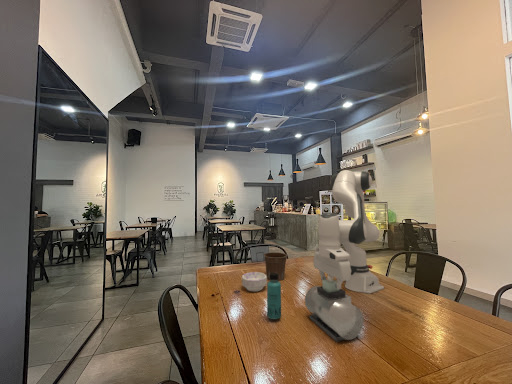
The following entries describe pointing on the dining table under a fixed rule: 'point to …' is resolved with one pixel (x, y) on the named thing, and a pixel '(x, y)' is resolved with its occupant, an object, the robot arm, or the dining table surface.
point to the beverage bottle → (274, 297)
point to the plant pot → (275, 264)
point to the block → (329, 284)
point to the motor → (334, 313)
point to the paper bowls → (254, 281)
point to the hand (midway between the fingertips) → (330, 284)
